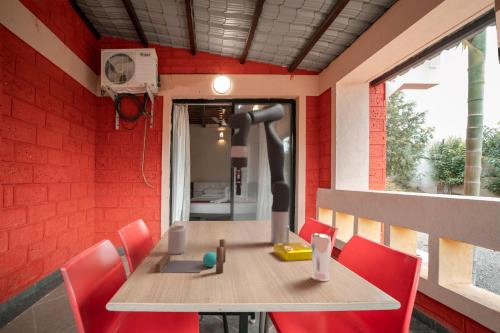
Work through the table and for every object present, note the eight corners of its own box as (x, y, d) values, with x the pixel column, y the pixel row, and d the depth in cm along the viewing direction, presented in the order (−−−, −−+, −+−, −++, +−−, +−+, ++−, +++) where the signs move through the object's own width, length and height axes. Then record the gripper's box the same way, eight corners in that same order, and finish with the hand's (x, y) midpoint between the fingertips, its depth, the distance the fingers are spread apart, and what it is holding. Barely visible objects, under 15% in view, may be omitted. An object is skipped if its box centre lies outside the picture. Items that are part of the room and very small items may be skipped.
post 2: (223, 271, 101) (223, 246, 102) (222, 273, 99) (223, 248, 99) (216, 271, 101) (216, 246, 101) (215, 273, 98) (216, 248, 99)
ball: (220, 259, 109) (214, 247, 109) (218, 265, 104) (212, 252, 103) (208, 265, 109) (202, 253, 109) (205, 271, 104) (199, 258, 103)
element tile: (316, 260, 119) (316, 249, 119) (284, 262, 115) (285, 251, 115) (301, 251, 133) (301, 241, 133) (272, 252, 129) (272, 242, 129)
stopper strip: (170, 260, 113) (170, 253, 113) (159, 272, 99) (160, 264, 99) (166, 260, 113) (166, 253, 113) (155, 272, 99) (155, 264, 99)
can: (187, 251, 127) (188, 225, 127) (178, 255, 120) (179, 228, 120) (174, 250, 129) (174, 224, 130) (164, 254, 122) (165, 227, 123)
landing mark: (205, 261, 113) (205, 260, 113) (200, 272, 99) (200, 272, 99) (171, 260, 113) (171, 260, 113) (161, 272, 99) (161, 271, 99)
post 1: (225, 260, 114) (226, 239, 114) (225, 262, 111) (225, 240, 112) (219, 260, 114) (219, 239, 114) (218, 262, 111) (219, 240, 111)
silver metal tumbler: (319, 283, 91) (320, 238, 92) (306, 276, 97) (306, 234, 98) (335, 280, 94) (335, 236, 95) (321, 273, 101) (321, 232, 101)
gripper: (231, 157, 130) (230, 194, 129) (230, 155, 116) (229, 196, 116) (247, 158, 130) (246, 194, 129) (247, 155, 117) (246, 196, 116)
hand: (238, 195), depth 122 cm, fingers closed
